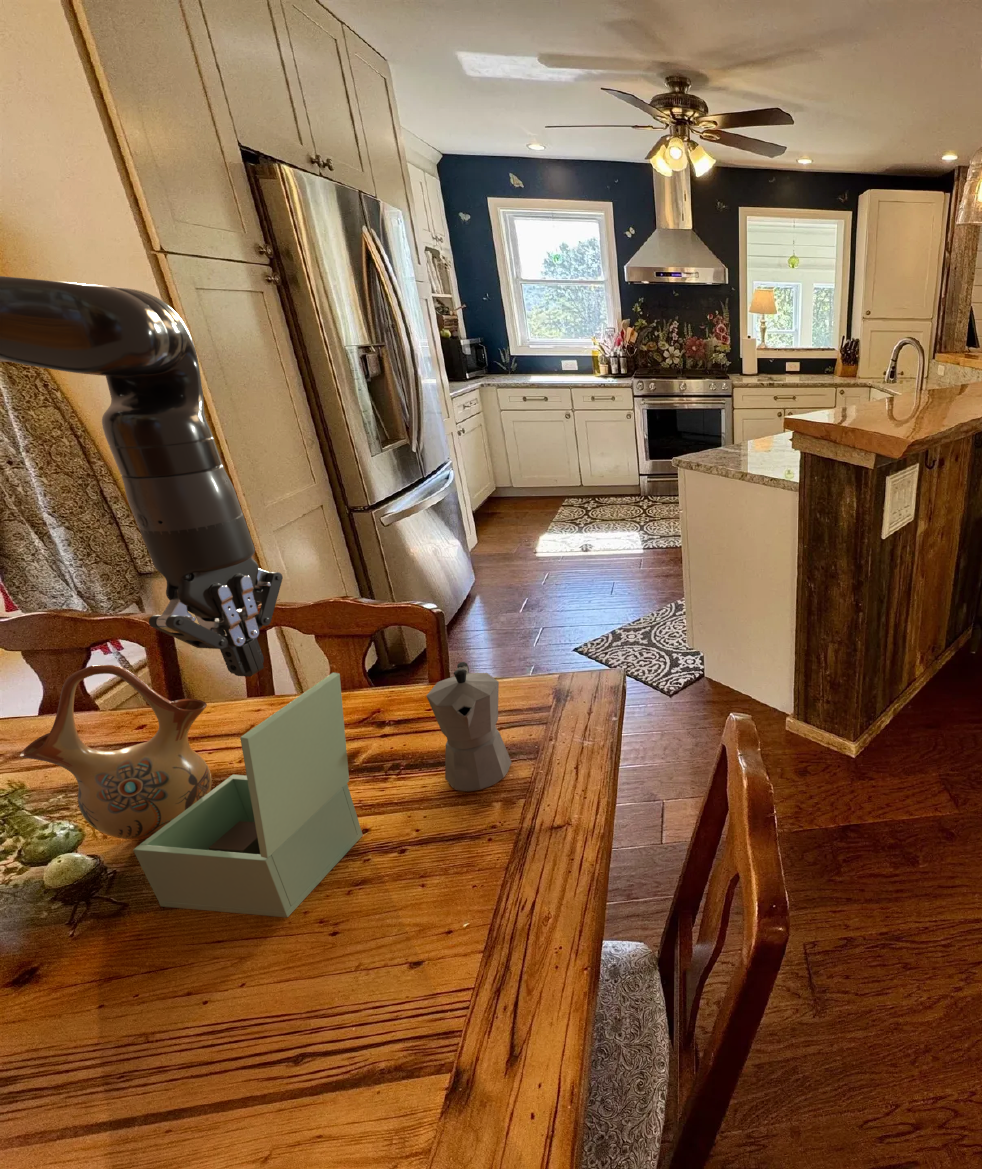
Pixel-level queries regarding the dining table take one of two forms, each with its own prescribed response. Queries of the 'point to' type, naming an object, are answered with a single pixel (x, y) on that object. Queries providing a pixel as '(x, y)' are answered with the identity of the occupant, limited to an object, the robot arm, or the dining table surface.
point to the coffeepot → (470, 729)
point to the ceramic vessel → (129, 763)
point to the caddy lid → (296, 762)
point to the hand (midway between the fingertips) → (249, 672)
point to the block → (239, 839)
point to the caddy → (244, 855)
